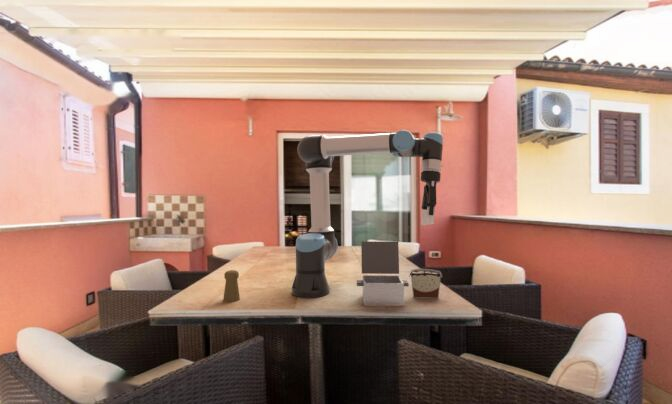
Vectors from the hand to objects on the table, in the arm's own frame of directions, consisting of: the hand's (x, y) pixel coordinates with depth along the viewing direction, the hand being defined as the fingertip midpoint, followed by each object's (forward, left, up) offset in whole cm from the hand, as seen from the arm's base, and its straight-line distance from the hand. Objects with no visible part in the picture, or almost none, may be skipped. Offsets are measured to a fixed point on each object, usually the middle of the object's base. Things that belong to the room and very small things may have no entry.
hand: (426, 224), depth 125 cm
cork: (-67, -34, -28) cm, 80 cm away
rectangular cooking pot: (-15, -14, -28) cm, 34 cm away
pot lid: (-17, -7, -13) cm, 22 cm away
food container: (-1, -1, -28) cm, 28 cm away
